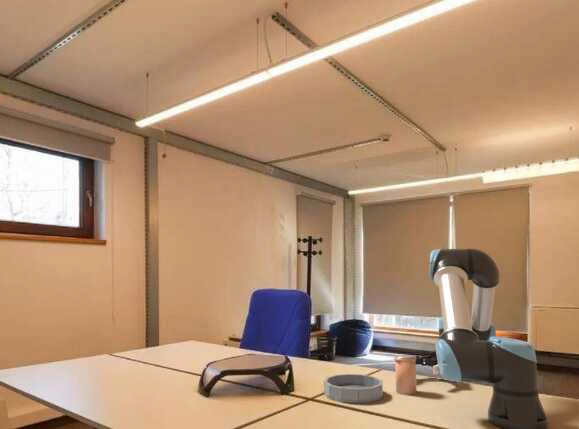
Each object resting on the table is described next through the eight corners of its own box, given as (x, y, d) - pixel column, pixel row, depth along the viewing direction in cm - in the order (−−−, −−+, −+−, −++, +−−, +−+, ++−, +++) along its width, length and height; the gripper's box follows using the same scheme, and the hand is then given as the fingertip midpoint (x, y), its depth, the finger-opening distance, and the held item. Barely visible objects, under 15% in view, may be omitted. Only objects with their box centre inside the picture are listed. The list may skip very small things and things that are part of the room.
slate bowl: (381, 405, 137) (381, 390, 138) (320, 401, 142) (320, 386, 143) (383, 388, 156) (383, 375, 157) (329, 385, 161) (329, 372, 162)
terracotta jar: (418, 396, 147) (416, 359, 149) (395, 394, 149) (394, 358, 150) (417, 389, 154) (415, 354, 156) (395, 388, 156) (394, 353, 158)
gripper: (471, 372, 166) (450, 383, 150) (411, 363, 182) (386, 372, 167) (470, 353, 167) (448, 361, 151) (411, 345, 183) (386, 352, 168)
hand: (416, 367), depth 159 cm, fingers open, 13 cm apart
